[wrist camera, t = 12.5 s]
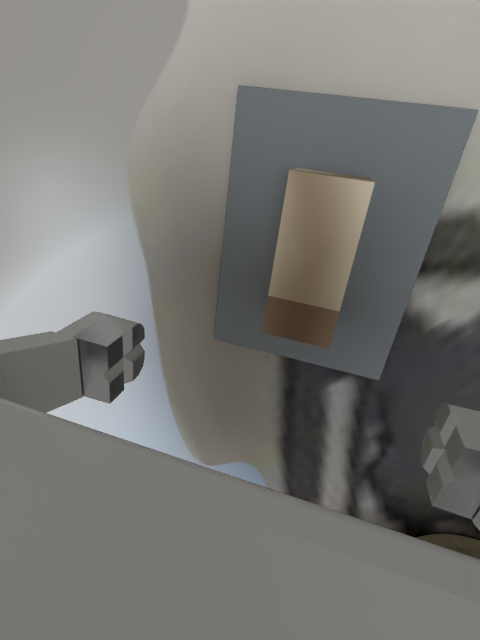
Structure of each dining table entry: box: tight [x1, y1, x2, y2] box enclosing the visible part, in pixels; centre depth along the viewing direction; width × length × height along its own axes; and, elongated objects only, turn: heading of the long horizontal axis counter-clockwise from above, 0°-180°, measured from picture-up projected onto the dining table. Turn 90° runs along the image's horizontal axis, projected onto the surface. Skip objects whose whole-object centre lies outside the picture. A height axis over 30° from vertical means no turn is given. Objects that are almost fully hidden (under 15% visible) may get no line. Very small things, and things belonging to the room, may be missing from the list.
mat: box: [214, 85, 478, 380], centre depth 22 cm, size 16×12×1 cm
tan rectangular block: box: [262, 168, 375, 349], centre depth 20 cm, size 4×9×4 cm, turn 173°
